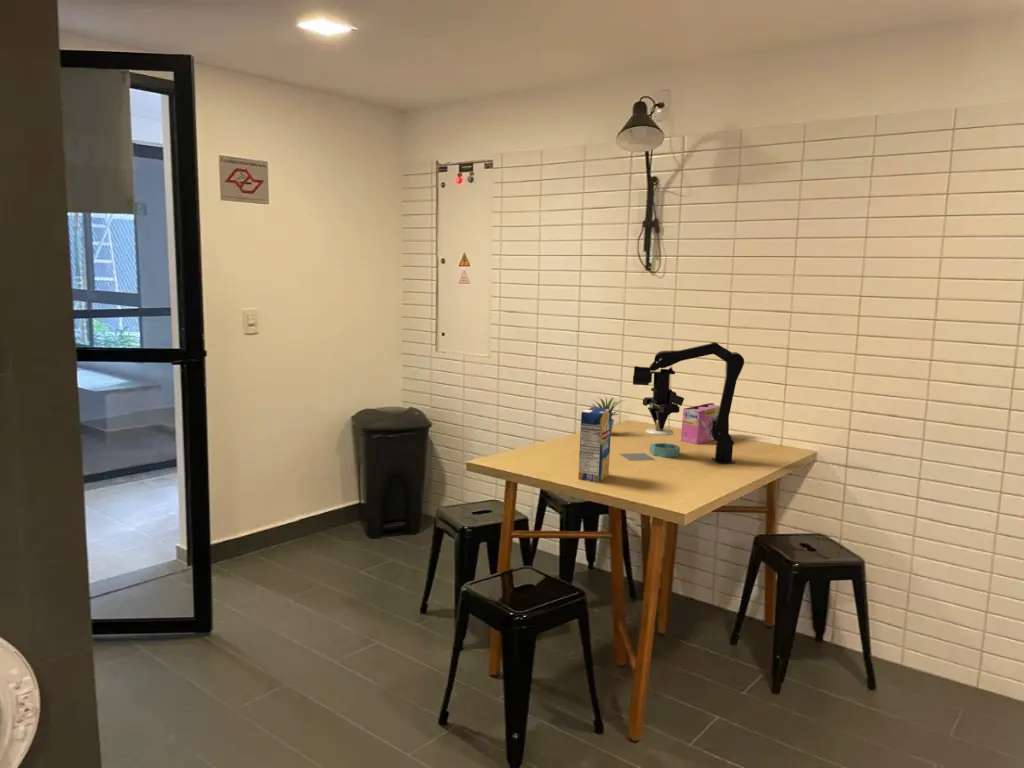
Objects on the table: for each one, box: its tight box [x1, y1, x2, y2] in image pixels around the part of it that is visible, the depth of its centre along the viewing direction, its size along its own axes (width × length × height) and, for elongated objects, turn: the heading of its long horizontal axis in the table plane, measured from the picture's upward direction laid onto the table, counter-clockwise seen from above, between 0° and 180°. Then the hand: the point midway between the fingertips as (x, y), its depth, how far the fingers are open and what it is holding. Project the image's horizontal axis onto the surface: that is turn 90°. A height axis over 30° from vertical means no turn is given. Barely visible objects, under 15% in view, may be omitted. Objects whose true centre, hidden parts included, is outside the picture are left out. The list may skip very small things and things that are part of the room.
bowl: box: [649, 442, 681, 458], centre depth 281 cm, size 10×10×4 cm
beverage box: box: [577, 406, 613, 483], centre depth 246 cm, size 7×11×22 cm, turn 156°
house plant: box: [591, 396, 626, 433], centre depth 315 cm, size 14×14×16 cm
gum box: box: [680, 402, 720, 445], centre depth 313 cm, size 24×8×14 cm, turn 137°
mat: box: [619, 452, 656, 462], centre depth 276 cm, size 10×10×1 cm
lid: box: [645, 419, 674, 437], centre depth 278 cm, size 10×10×5 cm
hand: (659, 428), depth 278 cm, fingers closed on lid, 3 cm apart
